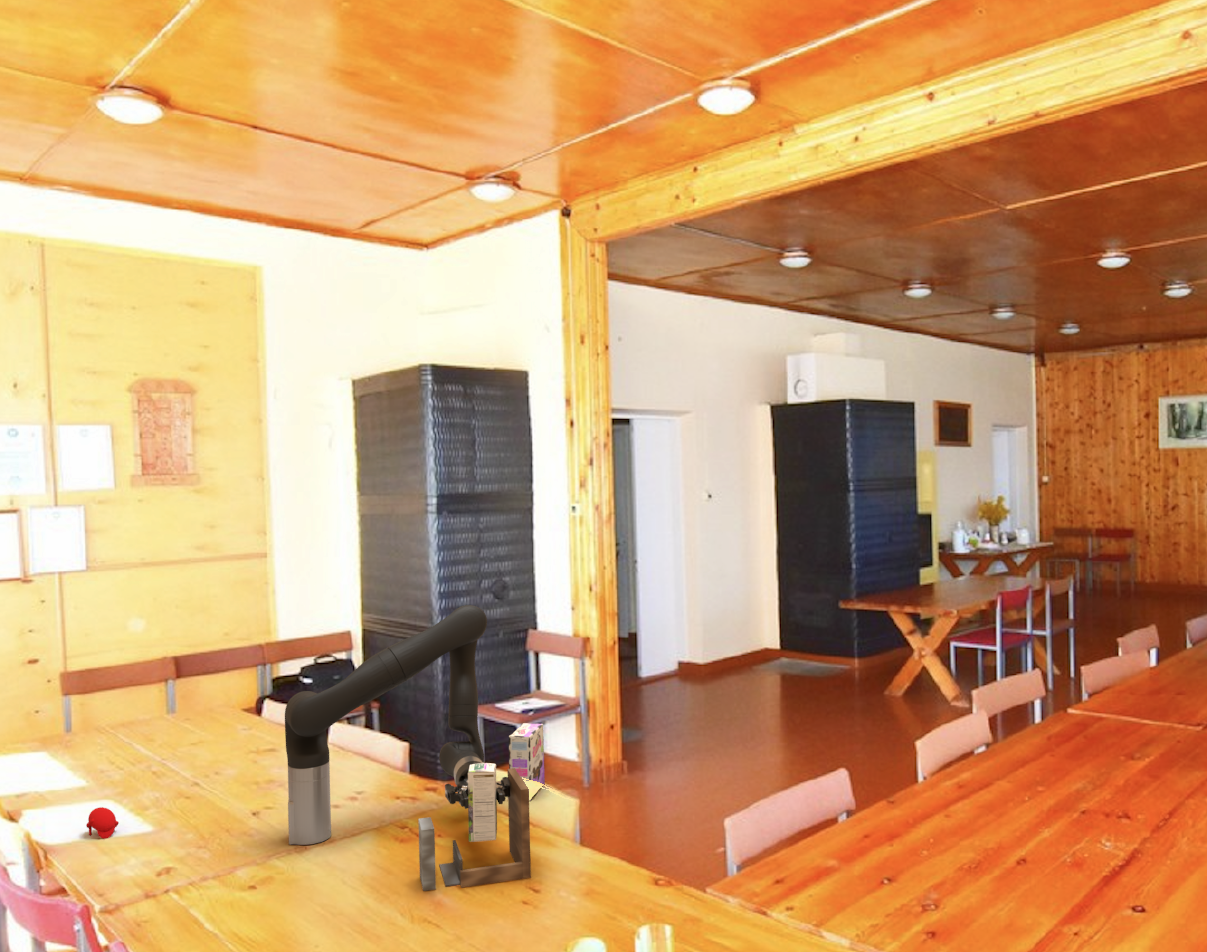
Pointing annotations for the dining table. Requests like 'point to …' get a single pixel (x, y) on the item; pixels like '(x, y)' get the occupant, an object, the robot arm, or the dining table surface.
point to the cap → (102, 822)
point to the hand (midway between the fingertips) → (484, 801)
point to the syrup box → (482, 802)
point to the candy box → (528, 752)
